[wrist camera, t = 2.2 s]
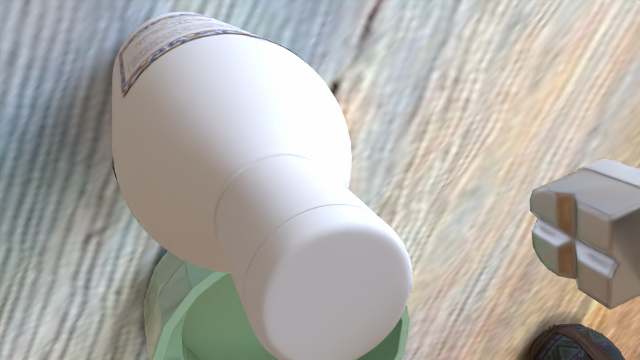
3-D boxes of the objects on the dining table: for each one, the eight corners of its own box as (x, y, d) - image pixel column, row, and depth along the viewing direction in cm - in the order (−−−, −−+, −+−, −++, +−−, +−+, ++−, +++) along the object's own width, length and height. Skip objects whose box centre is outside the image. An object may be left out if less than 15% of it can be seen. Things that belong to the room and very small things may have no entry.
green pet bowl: (103, 248, 27) (101, 312, 22) (339, 159, 30) (386, 196, 25) (190, 422, 33) (205, 504, 28) (379, 332, 37) (423, 391, 31)
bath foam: (238, 157, 28) (441, 449, 11) (102, 136, 25) (80, 490, 8) (266, 31, 26) (568, 136, 9) (124, -7, 23) (158, 37, 6)
